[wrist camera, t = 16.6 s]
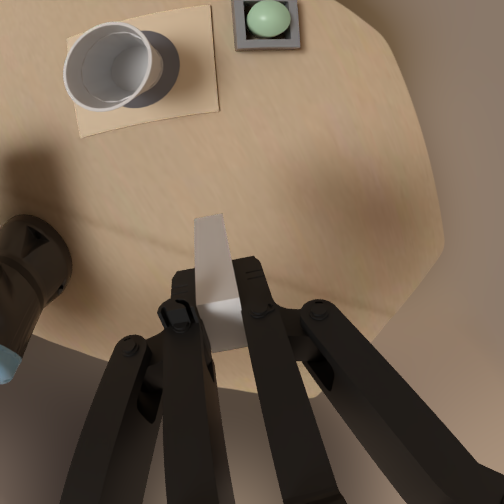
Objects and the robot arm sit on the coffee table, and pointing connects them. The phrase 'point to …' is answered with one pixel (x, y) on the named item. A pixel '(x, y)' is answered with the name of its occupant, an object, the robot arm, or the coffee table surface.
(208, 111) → the sheet
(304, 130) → the coffee table surface
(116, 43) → the cup
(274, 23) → the button
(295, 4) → the button housing
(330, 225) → the coffee table surface
